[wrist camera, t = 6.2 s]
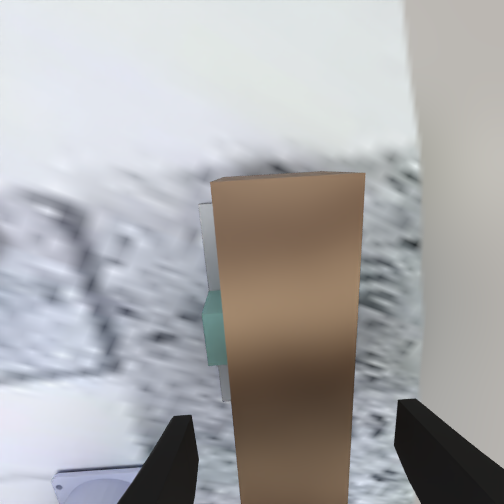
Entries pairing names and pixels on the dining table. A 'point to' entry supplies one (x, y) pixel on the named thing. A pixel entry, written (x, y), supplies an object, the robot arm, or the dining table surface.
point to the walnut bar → (290, 328)
